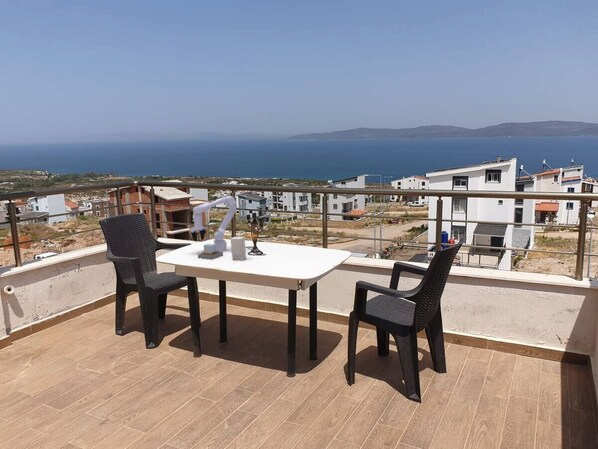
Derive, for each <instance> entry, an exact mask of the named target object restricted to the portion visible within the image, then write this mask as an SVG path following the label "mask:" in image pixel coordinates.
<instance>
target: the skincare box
mask: <svg viewBox="0 0 598 449" xmlns="http://www.w3.org/2000/svg"><path fill="white" fill-rule="evenodd" d="M230 247H231V258H232V261H244V260H245V259H247V254H246V253H247V252H246V251H247V250H246V241H245V236H233V237H232V238H230Z"/></svg>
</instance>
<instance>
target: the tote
mask: <svg viewBox="0 0 598 449" xmlns="http://www.w3.org/2000/svg"><path fill="white" fill-rule="evenodd" d="M223 256H224V251H223V252H218V253H217V254H215V255H212V256H211V255H202V252H201V253H198V254H197V259H200V258H201V259H202V260H211V261H213V260H215V259H217V258H221V257H223Z"/></svg>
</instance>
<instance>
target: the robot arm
mask: <svg viewBox="0 0 598 449" xmlns="http://www.w3.org/2000/svg"><path fill="white" fill-rule="evenodd" d="M221 204H224V205H225V204H226V205H227V206H228V212H227V213H226V214H225V217H224V218H223V220H222V222H221V224H220V225H219V227H218V228H217V230H216V231H214V233H213V237H214V239H213V244H216V251H218V252H223V253H224V252H228V251H229V250H228V248H227V247H228V246H227V241H226V240H225V239H224V235H225V232H226V230H227V228H228V226H229V224H230V222H231V221H232V219H233V217H234V215H235V213H236V212H237V201H236V199H235V198H234V196H232V195H227V196H223V197H221V198H218V199H216V200H214V201H211V202H209V201H205V202H203V203H202V204H198V205H197V206H194V207H193V211H192V212H193V220H194V221H193V225H194V227H193V228H192V229H190V234H191V236H192V238H193V242H198V235H199V236H200V241H202V240H204V238H205V235H206V233H207V226H203V217H202V213H205V212H207V211H209V210H211V209H212V207H215V206H218V205H221Z"/></svg>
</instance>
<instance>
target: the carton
mask: <svg viewBox="0 0 598 449" xmlns="http://www.w3.org/2000/svg"><path fill="white" fill-rule="evenodd" d="M215 251H216V244H214V243H205V244H204V245H203V252H211V253H212V252H215Z"/></svg>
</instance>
